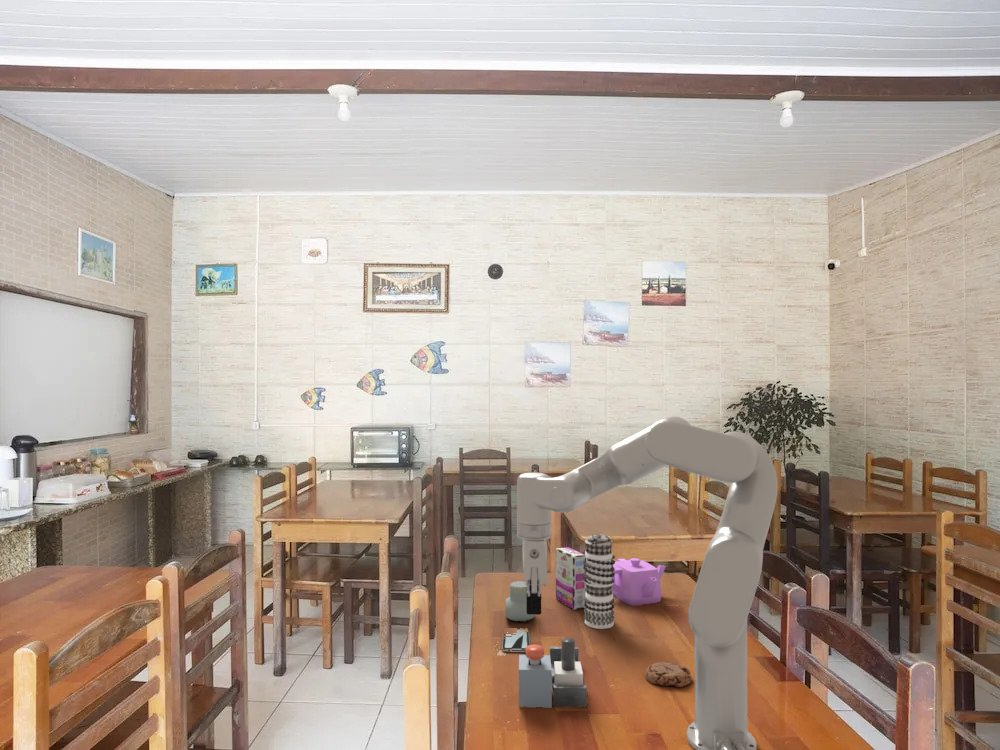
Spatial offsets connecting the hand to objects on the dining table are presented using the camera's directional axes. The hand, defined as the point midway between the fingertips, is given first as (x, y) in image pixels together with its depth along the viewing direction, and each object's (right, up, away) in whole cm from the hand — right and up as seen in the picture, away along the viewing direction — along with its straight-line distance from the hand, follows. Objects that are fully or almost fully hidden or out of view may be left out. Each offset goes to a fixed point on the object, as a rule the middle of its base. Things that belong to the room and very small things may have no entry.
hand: (533, 612), depth 132 cm
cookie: (+32, -19, +9) cm, 38 cm away
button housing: (0, -19, 0) cm, 19 cm away
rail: (+8, -19, +6) cm, 21 cm away
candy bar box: (+15, -20, +56) cm, 61 cm away
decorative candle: (+21, -19, +41) cm, 50 cm away
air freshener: (-2, -20, +45) cm, 49 cm away
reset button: (0, -13, 0) cm, 13 cm away
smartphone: (-3, -20, +30) cm, 36 cm away
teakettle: (+37, -20, +61) cm, 74 cm away
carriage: (+8, -18, +2) cm, 19 cm away
